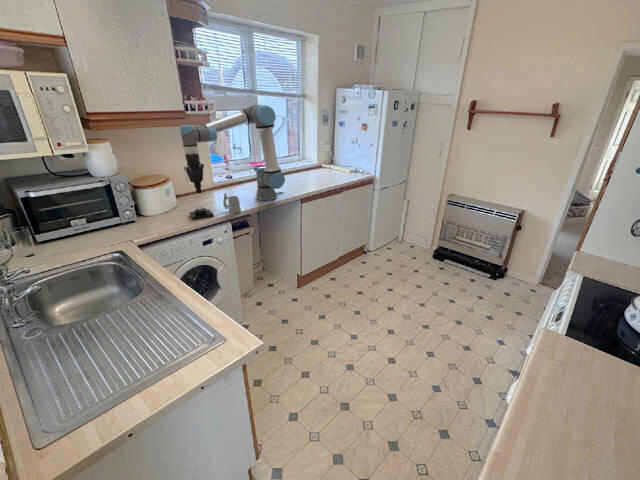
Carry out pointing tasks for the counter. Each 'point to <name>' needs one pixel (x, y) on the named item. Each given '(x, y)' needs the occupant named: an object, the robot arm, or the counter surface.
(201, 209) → the hob knob
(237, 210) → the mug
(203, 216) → the hob panel
